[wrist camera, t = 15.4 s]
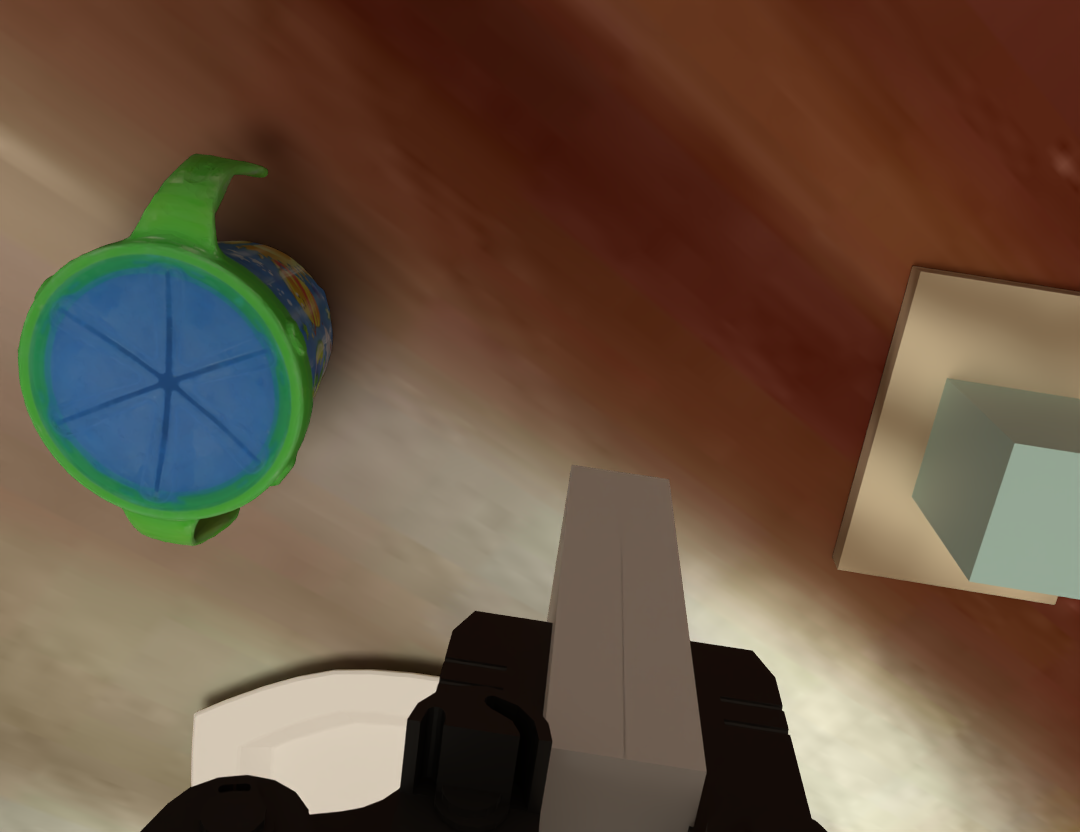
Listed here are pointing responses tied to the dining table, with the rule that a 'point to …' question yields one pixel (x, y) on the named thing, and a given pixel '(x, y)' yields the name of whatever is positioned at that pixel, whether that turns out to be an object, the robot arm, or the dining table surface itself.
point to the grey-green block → (1006, 486)
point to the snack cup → (177, 362)
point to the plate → (314, 735)
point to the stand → (913, 398)
